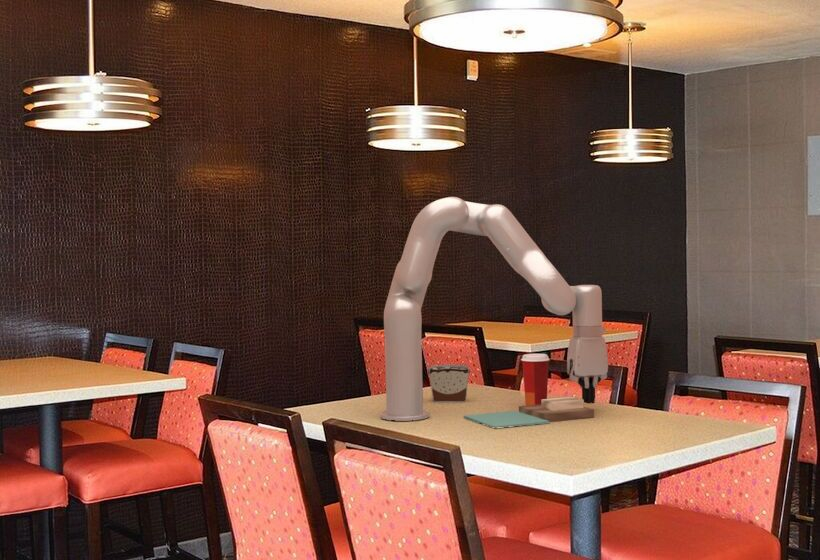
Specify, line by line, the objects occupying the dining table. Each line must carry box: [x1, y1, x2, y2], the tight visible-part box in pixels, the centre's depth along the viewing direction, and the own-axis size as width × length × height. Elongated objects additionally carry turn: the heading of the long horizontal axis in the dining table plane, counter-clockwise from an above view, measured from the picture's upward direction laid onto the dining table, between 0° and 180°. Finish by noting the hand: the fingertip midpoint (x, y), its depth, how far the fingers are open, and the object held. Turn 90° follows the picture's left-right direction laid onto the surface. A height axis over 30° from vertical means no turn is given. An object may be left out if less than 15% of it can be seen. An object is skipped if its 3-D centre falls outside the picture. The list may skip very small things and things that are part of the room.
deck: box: [518, 404, 595, 423], centre depth 267 cm, size 14×14×2 cm
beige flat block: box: [541, 396, 585, 411], centre depth 267 cm, size 6×9×2 cm, turn 112°
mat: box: [463, 410, 551, 428], centre depth 261 cm, size 18×15×1 cm
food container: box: [426, 364, 471, 403], centre depth 296 cm, size 12×6×10 cm, turn 82°
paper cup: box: [520, 353, 550, 406], centre depth 282 cm, size 8×8×14 cm
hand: (588, 402), depth 270 cm, fingers closed
